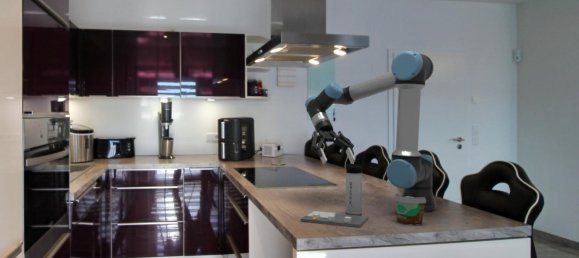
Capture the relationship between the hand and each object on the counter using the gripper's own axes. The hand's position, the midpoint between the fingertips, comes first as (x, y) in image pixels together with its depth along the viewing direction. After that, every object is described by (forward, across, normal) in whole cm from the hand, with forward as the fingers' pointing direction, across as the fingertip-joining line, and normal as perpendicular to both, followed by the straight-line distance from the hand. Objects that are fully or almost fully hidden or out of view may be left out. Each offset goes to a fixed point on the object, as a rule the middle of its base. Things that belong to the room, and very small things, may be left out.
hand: (339, 161), depth 180 cm
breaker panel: (+25, +11, -3) cm, 28 cm away
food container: (+35, -11, +7) cm, 37 cm away
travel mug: (+22, 0, -6) cm, 23 cm away
